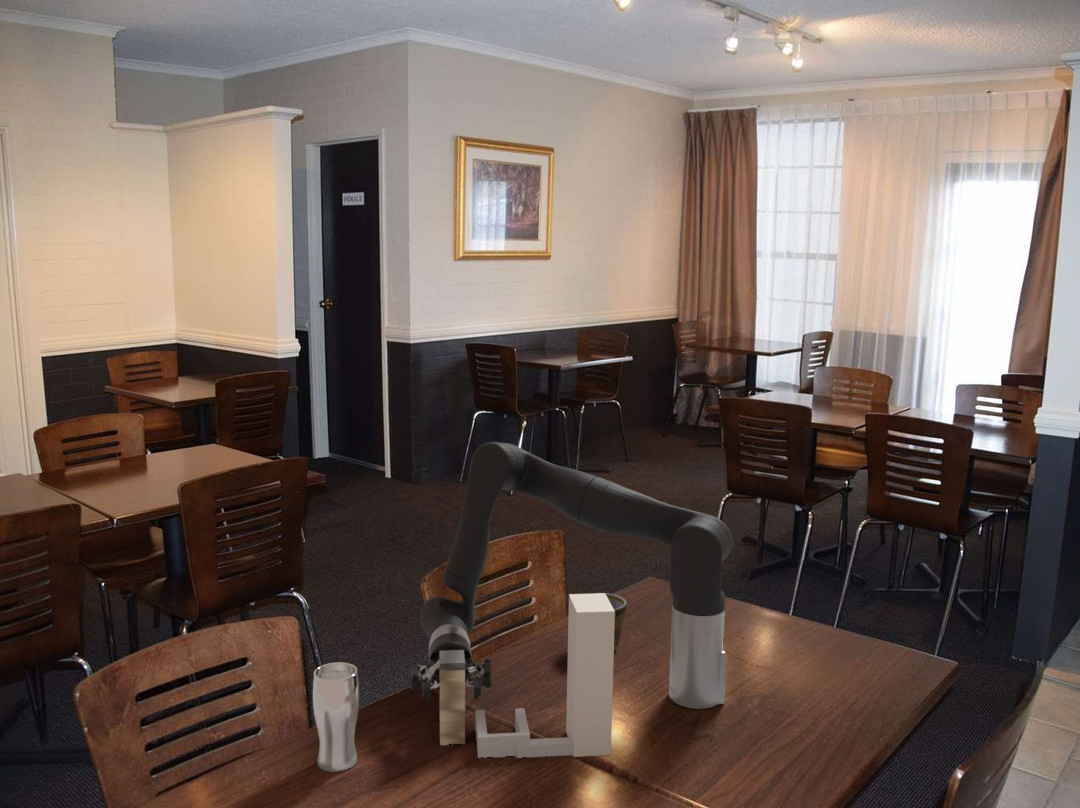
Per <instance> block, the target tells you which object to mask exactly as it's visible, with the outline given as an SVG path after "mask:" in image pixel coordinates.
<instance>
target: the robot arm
mask: <svg viewBox="0 0 1080 808" xmlns="http://www.w3.org/2000/svg"><path fill="white" fill-rule="evenodd" d="M466 480H467V481H466V487H465V494H464V498H463V499H464V500H463V504H462V509H461V514H460V520H459V524H458V526H457V531H456V535H455V537H454V542H453V545H452V547H451V550H450V554H449V557H448V560H447V563H446V566H445V569H444V572H443V574H442V583H443V584H444V585H445V586H446V587H447V588H449V589H450V590H452V591H454V592H456V593H458V595H460V596H461V598H462V601H459V600H458V601H457V600H455V599H451V598H447V597H445V596H439V595H434V596H431V597H429V598H428V599H427V600H426V601H425V602H424V603H423V606H422V607H421V612H420V624H421V627H422V630H423V632H424V633H425V635H426V637H428V639H429V644H428V654H427V655H428V662H427V663H426V665H421V664H419V662H418V661H411V662H410V685H411V686H410V688H411V689H410V690H411V691H418V690H419V689H420V690H421V697H422V698H423V699H426V701H427V702H431V701H432V700H431V698H432V697H431V693H432V690H433V689H437V688H439V687H440V651H448V650H464V657H465V688H469V687H470V688H472V696H473V700H478V699H479V697H481V696H482V695H483V687H484V688H486V689H489V688H491V687H492V684H493V683H492V676H493V675H492V673H493V671H492V660H491V659H490V658H485V659H484V660H483V662H480V663H476V661H474V660H473V658H472V657H473V656H472V655H473V654H472V649H471V647H472V646H471V640H470V638H469V636H470V634H471V633H472V631H473V630H474V627H475V619H476V597H477V591H478V586H479V582H480V579H481V577H482V574H483V569H484V567H485V565H486V561H487V557H488V553H489V545H490V525H491V519H492V515H493V514H492V513H493V512H494V511H493V510H494V507H495V505H496V502H497V500H498V498H499V495H500V494H501V491H504V490H505V491H513V492H517V493H520V494H524V495H526V496H531V497H532V498H533V497H534V498H536V499H539V500H542V501H543V502H546V503H547V504H549V505H550V506H552V507H553V508H554V509H555V510H557V511H558V512H560V513H562V515H564V516H566V517H567V518H570V519H571V520H573V521H575V522H577V523H580V524H583V525H585V526H588V527H590V528H592V529H595V530H597V531H600V532H603V533H604V532H605V533H608V534H614V535H621V536H628V537H636V538H637V537H638V538H646V539H650V540H653V541H654V540H655V541H656V542H657V541H658V542H660V543H663V544H665V545H668V546H669V547H670V548H669V590H670V594H671V596H672V608H671V609H672V610H671V614H672V615H671V635H670V637H671V638H670V660H669V664H670V665H669V683H668V687H669V688H668V689H669V690H668V691H669V692H668V697H669V699H670V700H671V701H672V702H674V703H675V704H676V705H679V706H682V707H684V708H688V709H693V710H694V709H695V710H696V709H697V710H705V709H710V708H713V707H716V706H718V705H723V704H725V697H726V696H725V694H726V693H725V691H726V675H727V673H726V672H727V652H725V651H724V650H723V639H724V632H725V613H726V611H725V610H726V609H725V608H726V596H725V592H724V591H723V590H722V567H723V566H722V564H723V561H725V559H727V557H728V556H729V555H730V553H731V551H732V550H733V549H732V548H733V546H734V539H733V534H732V532H731V530H730V528H729V527H728V525H727V524H726V523H725V522H723V521H722V519H720V518H718V517H716V516H714V515H711V514H707V513H703V512H699V511H696V510H692V509H687V508H683V507H679V506H676V505H672V504H669V503H666V502H664V501H660V500H657V499H656V498H653V497H651V496H648V495H645V494H644V493H641V492H638V491H636V490H633V489H631V488H628V487H625V486H623V485H621V484H617V483H615V482H613V481H611V480H608V479H604V478H602V477H599V476H597V475H593V474H590V473H587V472H585V471H580V470H577V469H573V468H569V467H565V466H560V465H557V464H554V463H552V462H549V461H547V460H544V459H543V458H541V457H539V456H537V455H535V454H533V453H531V452H528V451H527V450H525V449H523V448H522V447H519V446H517V445H515V444H513V443H509V442H497V441H490V442H489V441H488V442H485V443H483V444H481V445H479V446H478V447H477V449H476V450H475V451H474V452H473V454H472V456H471V460H470V463H469V468H468V475H467V479H466Z"/></svg>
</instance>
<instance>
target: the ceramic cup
mask: <svg viewBox="0 0 1080 808" xmlns="http://www.w3.org/2000/svg"><path fill="white" fill-rule="evenodd" d="M598 593H599V592H593V593H590V594H598ZM604 593H605V592H604ZM605 594H606V596H607V598H608V599H609V601H610V603H611V605H612V607H613V609H614V611H615V625H614V652H616V651H617V650H618V648H619V643H620V637H621V633H622V628H623V623H624V621H625V615H626V609H627V601H626V599H624V597H622V596H619V595H616V594H613V593H608V592H607V593H605ZM616 649H617V650H616ZM615 650H616V651H615Z"/></svg>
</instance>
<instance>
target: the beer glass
mask: <svg viewBox="0 0 1080 808" xmlns="http://www.w3.org/2000/svg"><path fill="white" fill-rule="evenodd" d="M312 681H313V682H312V683H313V684H312V706H313V707H312V708H313V713H314V719H315V724H316V730H317V733H318V740H319V744H318V745H319V747H318V748H319V749H318V755H317V759H316V761H317V763H316V764H317V766H318V768H319V769H320V770H321V771H324V772H328V773H340V772H344V771H345V772H346V771H347V770H349V768H350V769H351V768H353V767H354V766H355V765H356V763H357V762H358V754H357V749H356V747H355V746H356V745H355V732H356V726H357V725H356V724H357V720H358V714H359V703H360V687H359V677H358V667H357V666H356V665H354V664H352V663H348V662H345V661H344V662H342V661H339V662H330V663H329V662H328V663H325V664H322V665H320V666H318V667H317V668H315V669H314V671H313V680H312Z"/></svg>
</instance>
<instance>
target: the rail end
mask: <svg viewBox="0 0 1080 808" xmlns="http://www.w3.org/2000/svg"><path fill="white" fill-rule="evenodd" d="M449 744H452V745H451V746H454V745H453V744H463V745H466V686H465V657H464V650H448V651H440V686H439V746H440V745H442V746H450V745H449Z"/></svg>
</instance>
